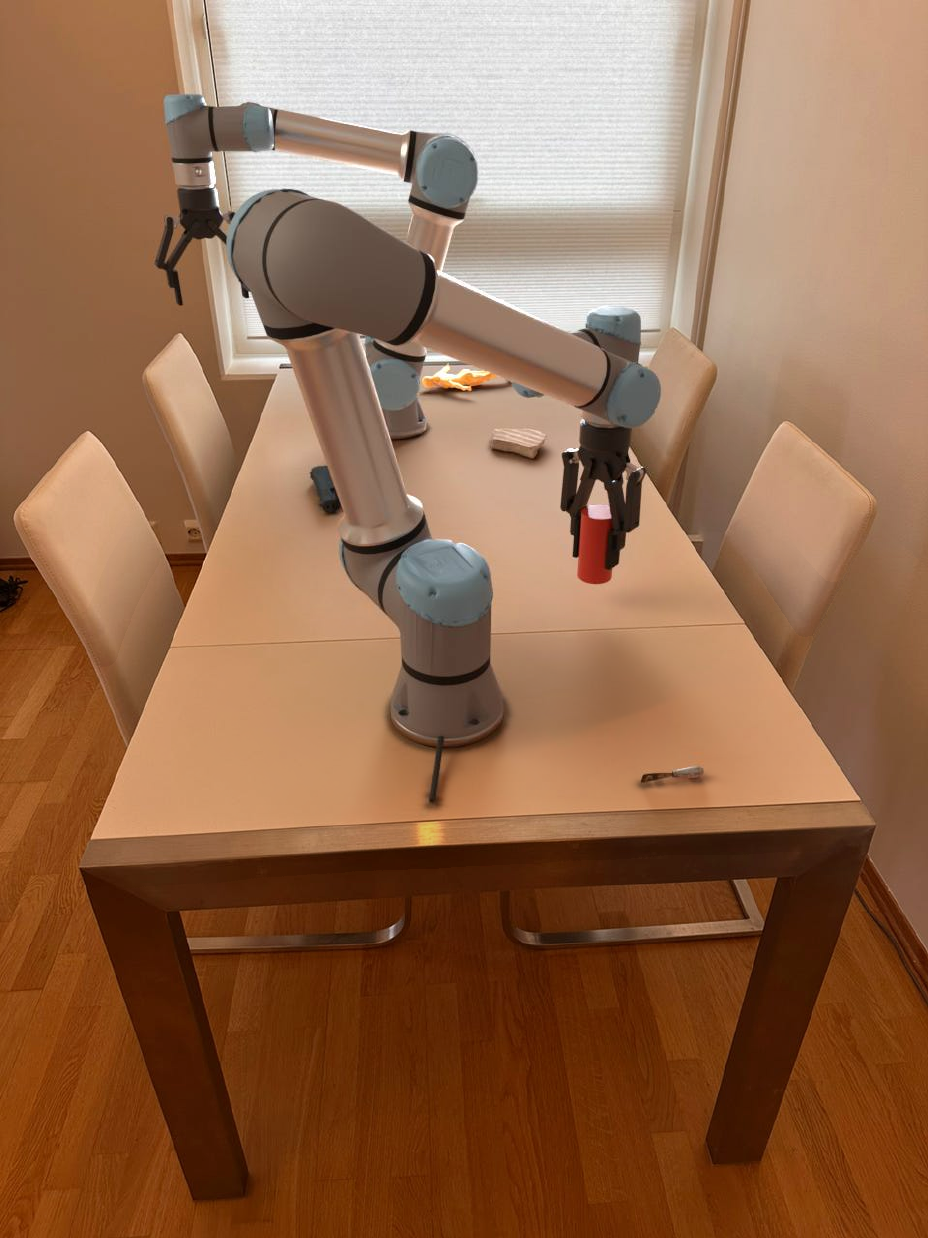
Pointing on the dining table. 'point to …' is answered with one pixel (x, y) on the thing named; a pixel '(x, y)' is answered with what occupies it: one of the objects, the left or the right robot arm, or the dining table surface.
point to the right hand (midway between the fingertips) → (595, 559)
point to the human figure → (458, 379)
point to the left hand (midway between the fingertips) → (213, 300)
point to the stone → (518, 441)
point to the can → (594, 544)
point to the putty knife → (674, 774)
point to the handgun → (325, 488)
